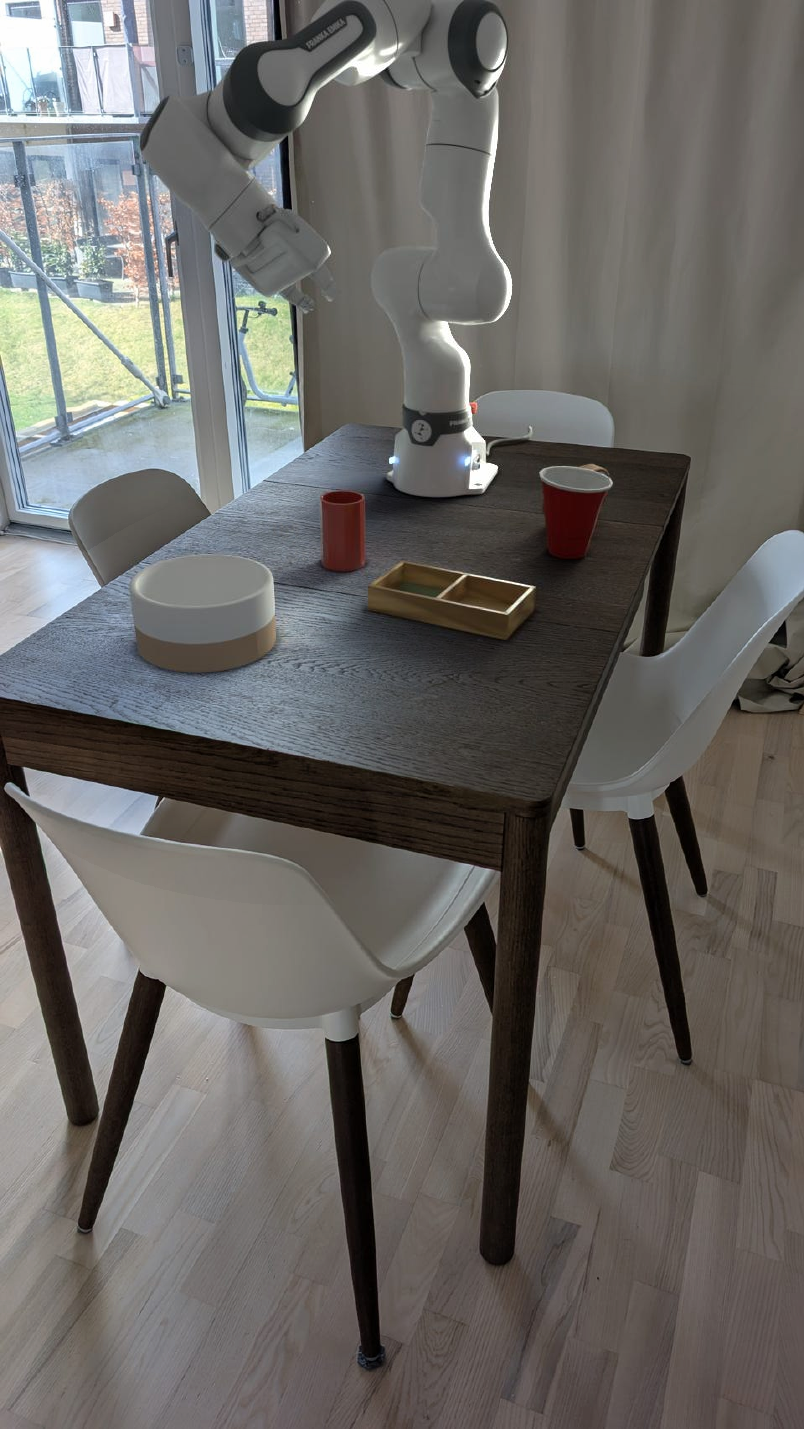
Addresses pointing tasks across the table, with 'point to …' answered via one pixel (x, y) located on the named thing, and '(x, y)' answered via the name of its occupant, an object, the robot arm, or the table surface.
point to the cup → (342, 530)
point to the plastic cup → (572, 508)
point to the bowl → (203, 612)
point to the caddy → (452, 599)
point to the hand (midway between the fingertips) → (323, 303)
